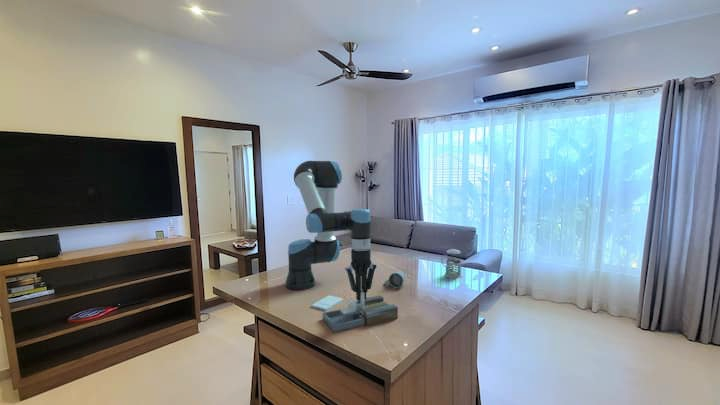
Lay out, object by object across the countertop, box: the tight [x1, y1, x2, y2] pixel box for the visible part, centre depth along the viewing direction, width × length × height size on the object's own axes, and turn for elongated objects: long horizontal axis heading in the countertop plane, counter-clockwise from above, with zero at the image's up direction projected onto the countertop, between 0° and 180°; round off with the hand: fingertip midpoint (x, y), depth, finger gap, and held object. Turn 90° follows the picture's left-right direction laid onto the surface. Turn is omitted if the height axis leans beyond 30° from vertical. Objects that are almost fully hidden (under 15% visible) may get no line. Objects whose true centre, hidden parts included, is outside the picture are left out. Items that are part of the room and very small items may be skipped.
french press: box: [440, 231, 463, 279], centre depth 167 cm, size 10×12×25 cm
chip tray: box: [322, 308, 366, 333], centre depth 113 cm, size 12×12×2 cm
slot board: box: [360, 294, 399, 327], centre depth 119 cm, size 14×14×4 cm
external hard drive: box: [310, 294, 344, 312], centre depth 130 cm, size 2×8×12 cm
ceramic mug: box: [383, 270, 406, 289], centre depth 153 cm, size 11×8×8 cm
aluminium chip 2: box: [347, 298, 362, 315], centre depth 115 cm, size 4×4×4 cm
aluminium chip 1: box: [339, 307, 353, 323], centre depth 113 cm, size 4×4×4 cm
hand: (361, 307), depth 116 cm, fingers closed
